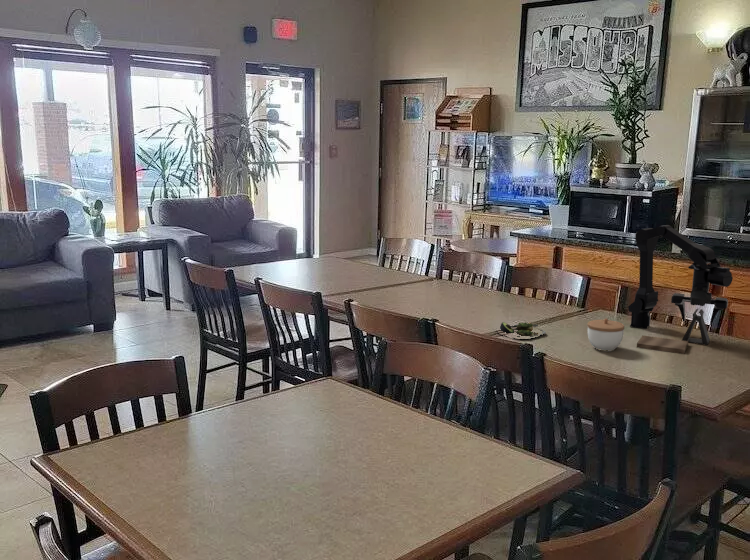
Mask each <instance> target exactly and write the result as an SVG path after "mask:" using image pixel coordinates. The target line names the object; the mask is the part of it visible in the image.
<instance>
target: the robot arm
mask: <svg viewBox="0 0 750 560" xmlns="http://www.w3.org/2000/svg"><path fill="white" fill-rule="evenodd" d="M634 235H635V245H636V246H637V248H638V250H639V281H638V283H639V285H638V289H637V291H636V293H635V295H634V301H633V302H631V303H630V304H629V305H628V306H627V309H628V312H629V313H631V317H630V319H631V320H630V325H629V327H630V328H638V329H643V330H644V329H648V328H649V326H650V325H651V315H650V312H653V309H654V308H655V307H656V306H657V303H658V302H659V291H658V290H657V291H655V289H654V287H653V286H654V283H653V280H654V279H653V278H654V276H653V275H654V271H653V270H654V250H655V248H656V247H657V245H658V241H659V239H661V238H664V239H665V240H667V241H669V242H670V243H672V244H673V245H674V246H676V247H678V248H679V249H681V250H682V251H683V252H685V253H686V254H687V257H688V258H689V259H690V261H692V264H690V265H689V266H688V267H687V268H688V269H689V270H693V275H692V285H691V291H690V296H685V293H676V292H674V293H673V294H672V296H671V299H670V302H671V304H674V306H677V307H678V309H679V311H680V314H681V319H682V322H683V323H685V321H686V303H689V304H690V305H691V306H699V307H705V305H712V306H713V305H714V306H713V309H712V314H711V318H710V322H709V325H710V326H712V325H713V322H714V320H715V318H716V316H717V314H718V312H719V311H723V310H724V309H725V310H726V309H727V308H728V304H729V300H728V298H727V297H725V298H724V297H719V296H718V297H717V296H716V297H715V299H712V297H713V293H712V292H710V284H711V285H713V286H719V287H725V288H728V287H730V285H732V282H733V274H732V272H731V268H730V267H722V266H721V264H720V262H719V261H718V259H717V257H716V254H715V251H714V249H712V248H711V247H708V246H706V245H703V244H699V243H696V242H695V241H693V240H691V239H690V238H688V237H687V236H685V235H684V234H682V233H681V232H679V231H678V230H676V229H675V228H673V226H671V225H669V224H666V225H660V226H658V227H654V228H653V227H649V228H640V229H639V230H637V231H636V233H635V234H634Z"/></svg>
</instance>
